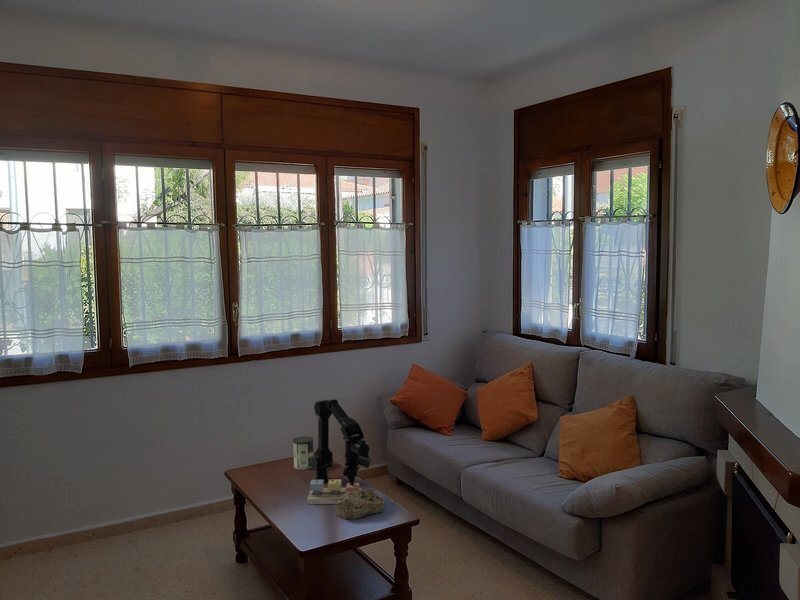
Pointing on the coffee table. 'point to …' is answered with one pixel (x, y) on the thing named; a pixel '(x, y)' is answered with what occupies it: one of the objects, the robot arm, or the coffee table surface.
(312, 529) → the coffee table surface
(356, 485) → the pink cube
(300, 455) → the coffee can
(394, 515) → the coffee table surface
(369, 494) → the rock
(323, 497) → the keypad board
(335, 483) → the yellow cube
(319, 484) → the blue-grey cube
